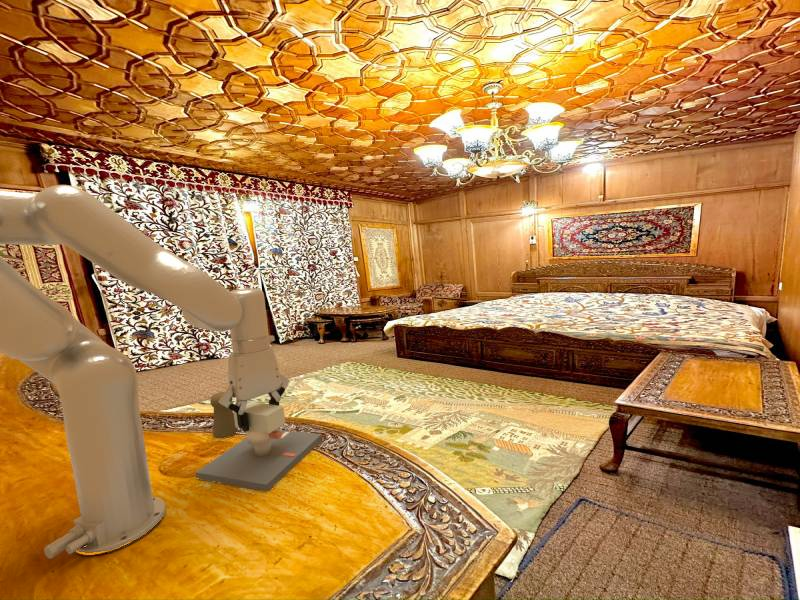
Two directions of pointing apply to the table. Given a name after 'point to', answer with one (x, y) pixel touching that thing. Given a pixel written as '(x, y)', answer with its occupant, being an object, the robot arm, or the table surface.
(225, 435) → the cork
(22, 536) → the table surface
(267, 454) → the base plate
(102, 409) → the robot arm
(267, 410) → the cream rectangular block
